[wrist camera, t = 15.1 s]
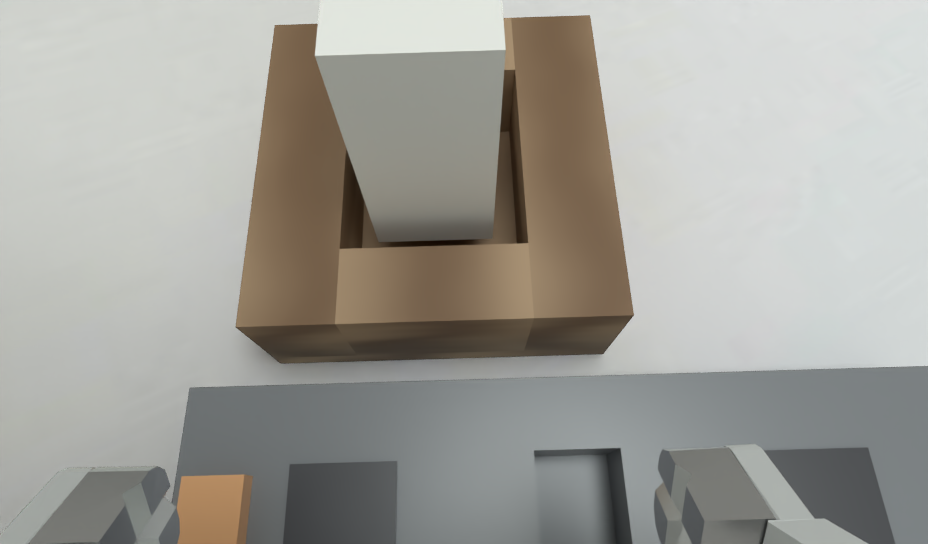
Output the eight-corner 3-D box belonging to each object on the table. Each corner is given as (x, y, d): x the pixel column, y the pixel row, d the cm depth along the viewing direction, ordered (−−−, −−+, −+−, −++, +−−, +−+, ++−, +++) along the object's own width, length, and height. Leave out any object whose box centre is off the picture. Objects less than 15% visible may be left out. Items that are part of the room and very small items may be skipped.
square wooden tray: (280, 363, 22) (235, 327, 18) (305, 102, 26) (274, 25, 22) (603, 353, 22) (633, 315, 18) (571, 94, 26) (589, 15, 22)
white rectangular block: (386, 264, 22) (314, 55, 12) (389, 154, 24) (329, -105, 14) (490, 261, 22) (505, 49, 12) (485, 151, 24) (494, -110, 14)
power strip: (192, 665, 18) (127, 699, 15) (226, 404, 21) (179, 383, 18) (968, 643, 18) (1084, 673, 15) (889, 385, 21) (969, 360, 18)
